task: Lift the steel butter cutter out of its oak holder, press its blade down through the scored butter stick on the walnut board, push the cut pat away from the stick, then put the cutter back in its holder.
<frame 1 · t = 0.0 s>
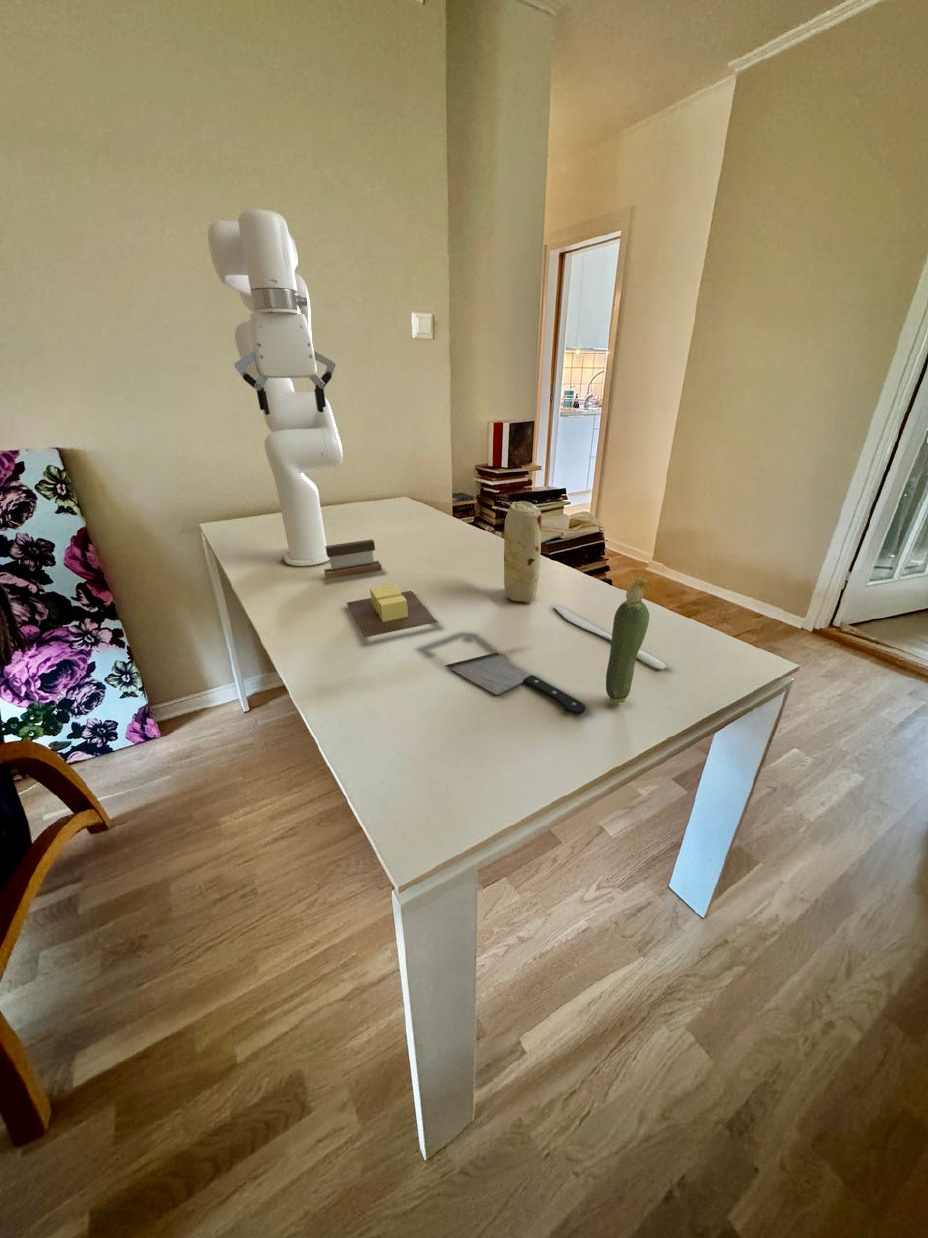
hand: (294, 412, 90), 37 cm above the table, tool pointing down, fingers open, 9 cm apart
butter pat: (393, 616, 92), point 1 cm above the table, touching board
butter knife: (601, 636, 87), on the table
holder: (354, 576, 115), on the table
butter stick: (386, 606, 96), point 1 cm above the table, touching board
board: (390, 618, 95), on the table
vegetable: (617, 702, 70), on the table
cutter: (354, 576, 115), resting in holder
food model: (519, 597, 103), on the table
cleaver: (498, 676, 76), on the table
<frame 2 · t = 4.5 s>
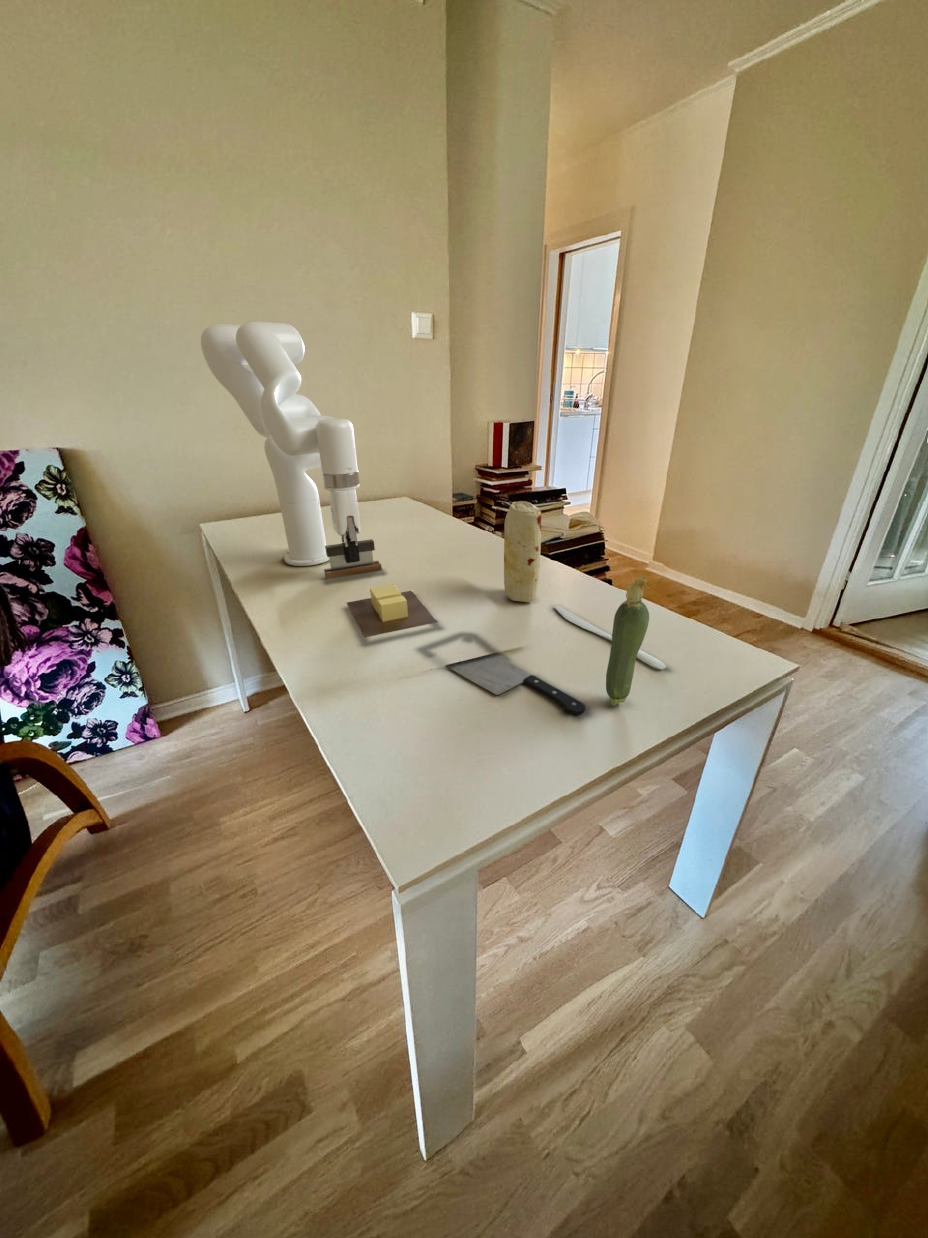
hand: (351, 559, 113), 4 cm above the table, tool pointing down, fingers closed on cutter, 1 cm apart
cutter: (354, 576, 115), resting in holder, touching gripper
everything else where it was.
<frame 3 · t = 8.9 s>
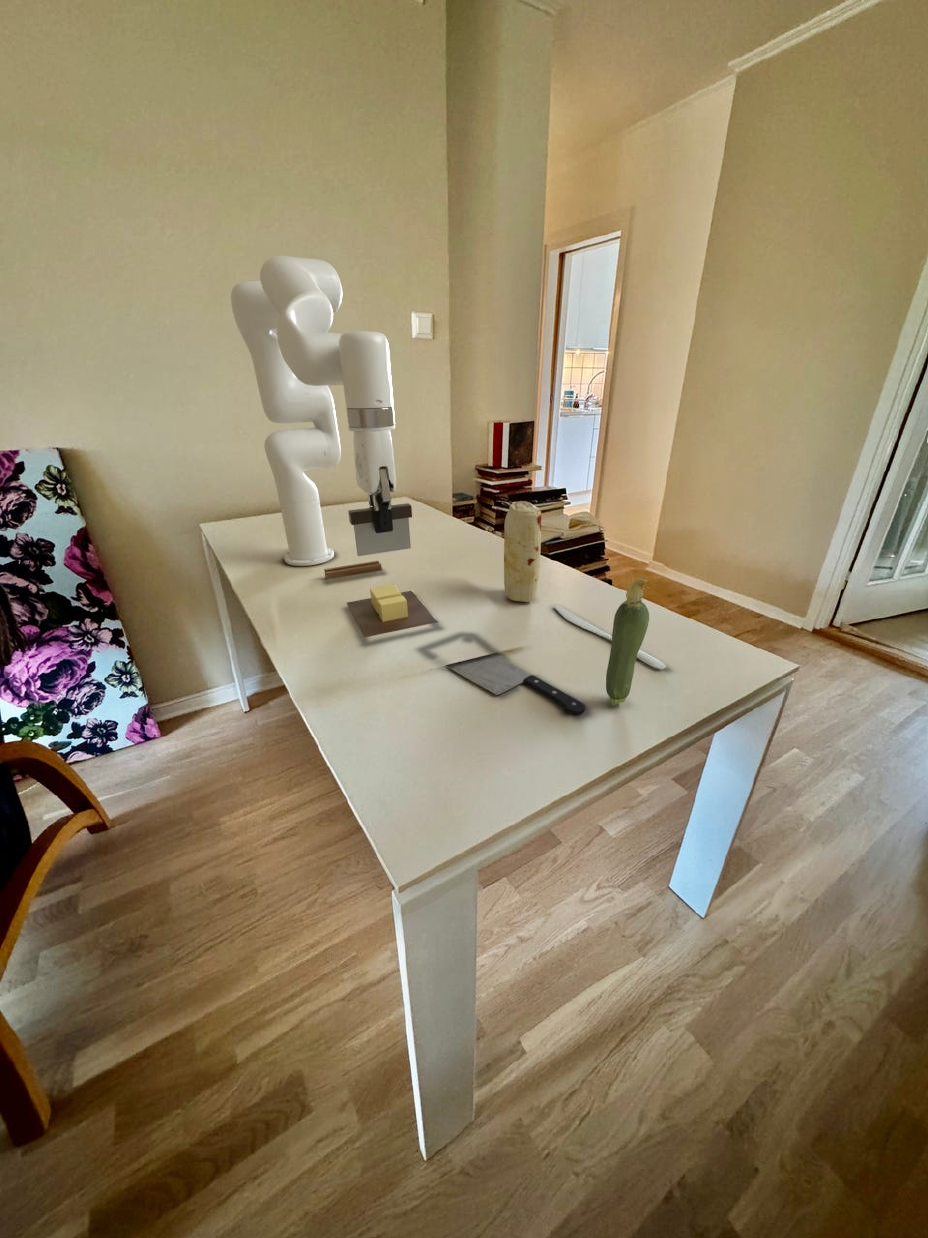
hand: (382, 529, 86), 18 cm above the table, tool pointing down, fingers closed on cutter
cutter: (384, 552, 88), point 14 cm above the table, touching gripper
everything else where it was.
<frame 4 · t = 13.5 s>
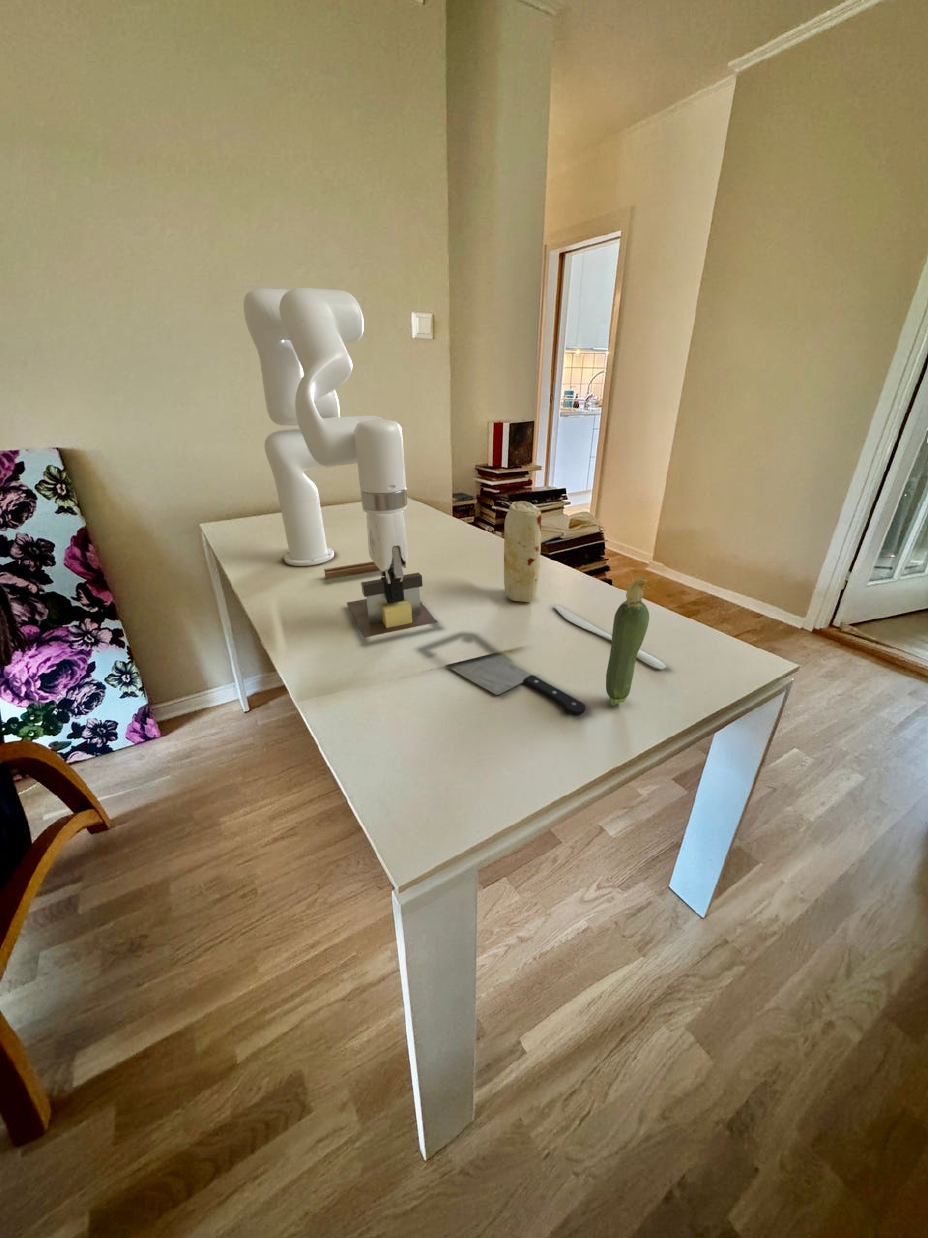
hand: (393, 598, 89), 6 cm above the table, tool pointing down, fingers closed on cutter, 2 cm apart
butter pat: (397, 622, 90), point 2 cm above the table, touching board, cutter
cutter: (395, 618, 91), point 2 cm above the table, touching butter pat, gripper
everything else where it was.
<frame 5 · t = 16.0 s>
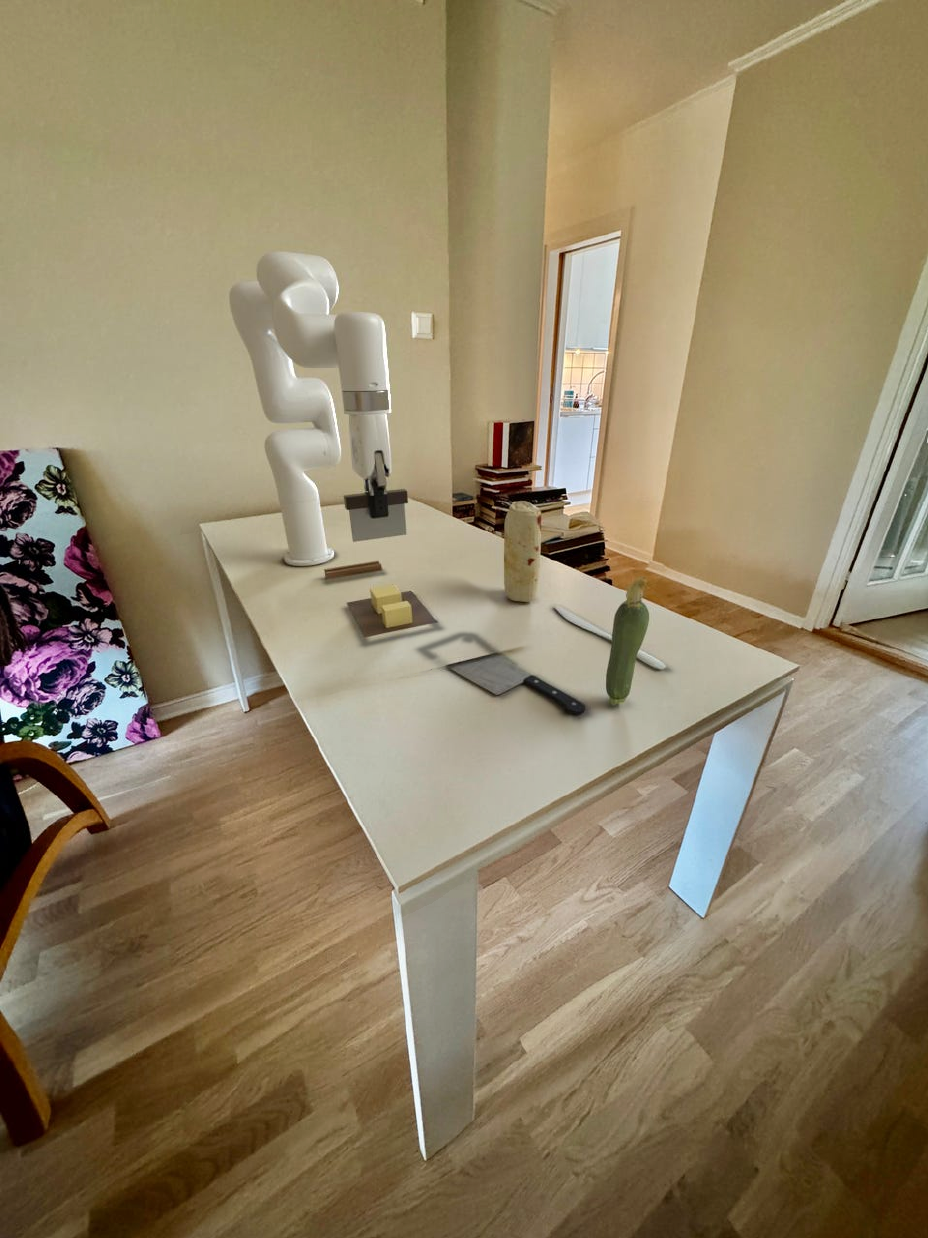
hand: (377, 514, 86), 21 cm above the table, tool pointing down, fingers closed on cutter
butter pat: (397, 622, 90), point 1 cm above the table, touching board
cutter: (380, 537, 88), point 16 cm above the table, touching gripper
everything else where it was.
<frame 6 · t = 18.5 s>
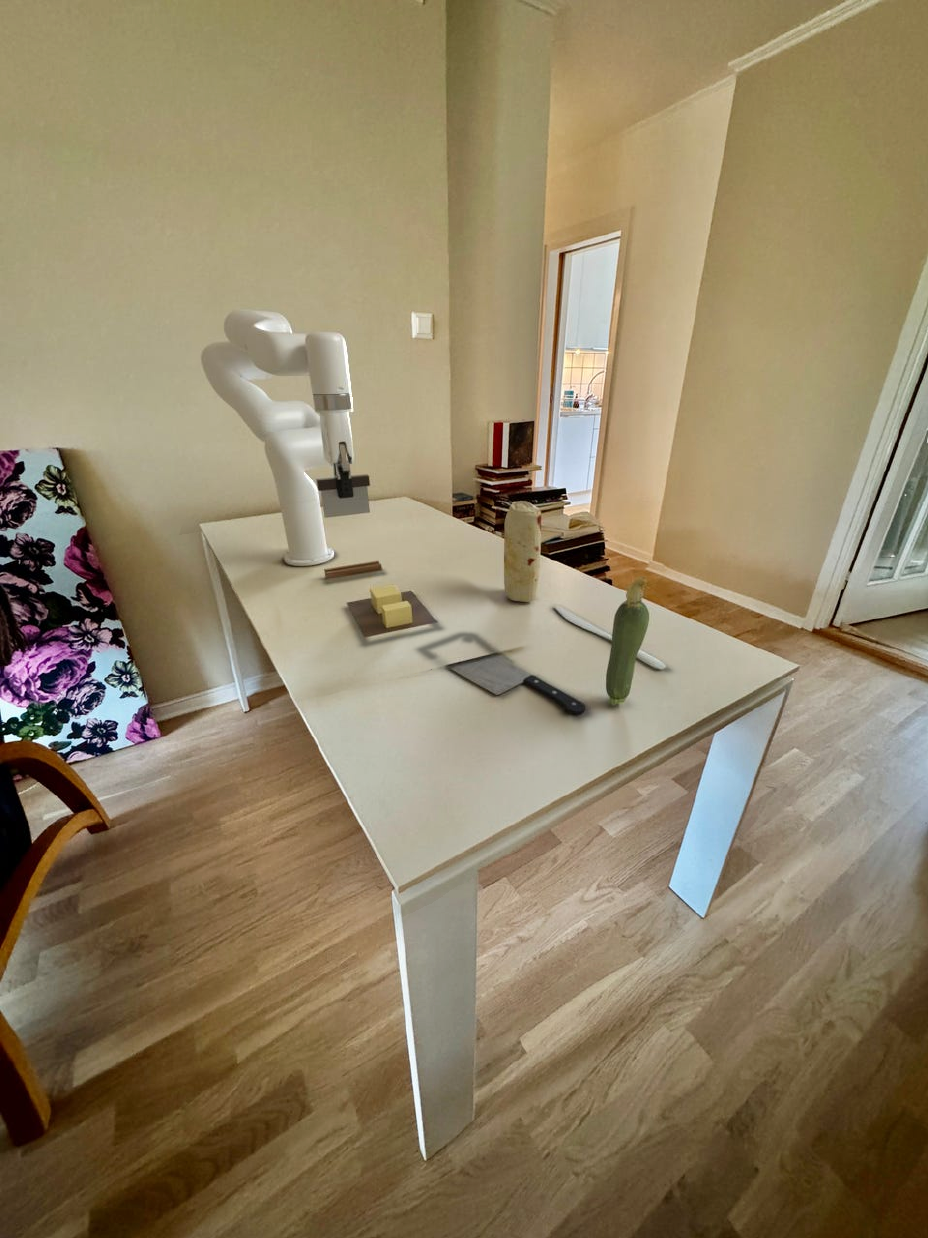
hand: (344, 495, 104), 20 cm above the table, tool pointing down, fingers closed on cutter
cutter: (347, 515, 106), point 15 cm above the table, touching gripper
everything else where it was.
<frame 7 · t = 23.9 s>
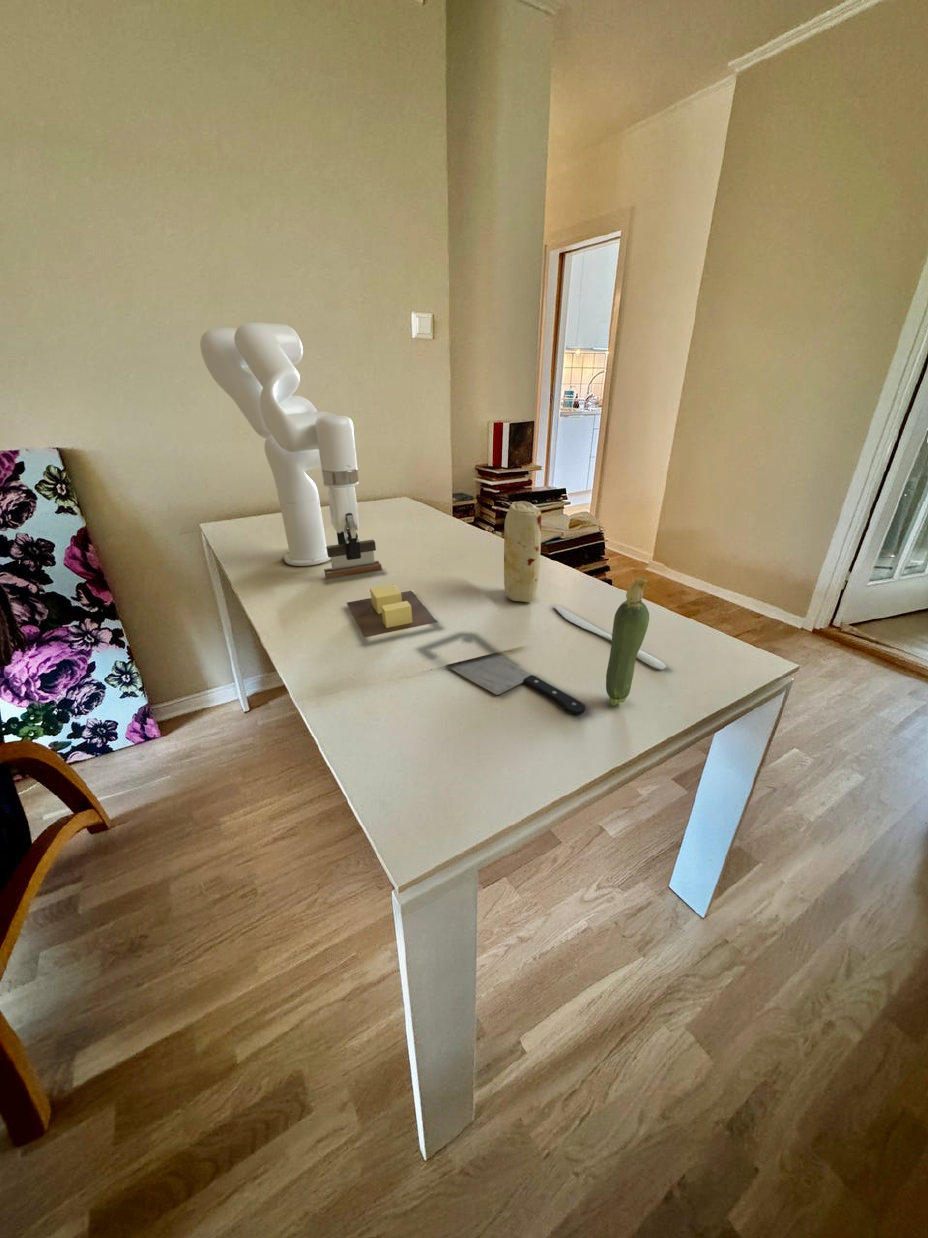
hand: (349, 551, 112), 6 cm above the table, tool pointing down, fingers open, 9 cm apart
cutter: (355, 576, 114), resting in holder
everything else where it was.
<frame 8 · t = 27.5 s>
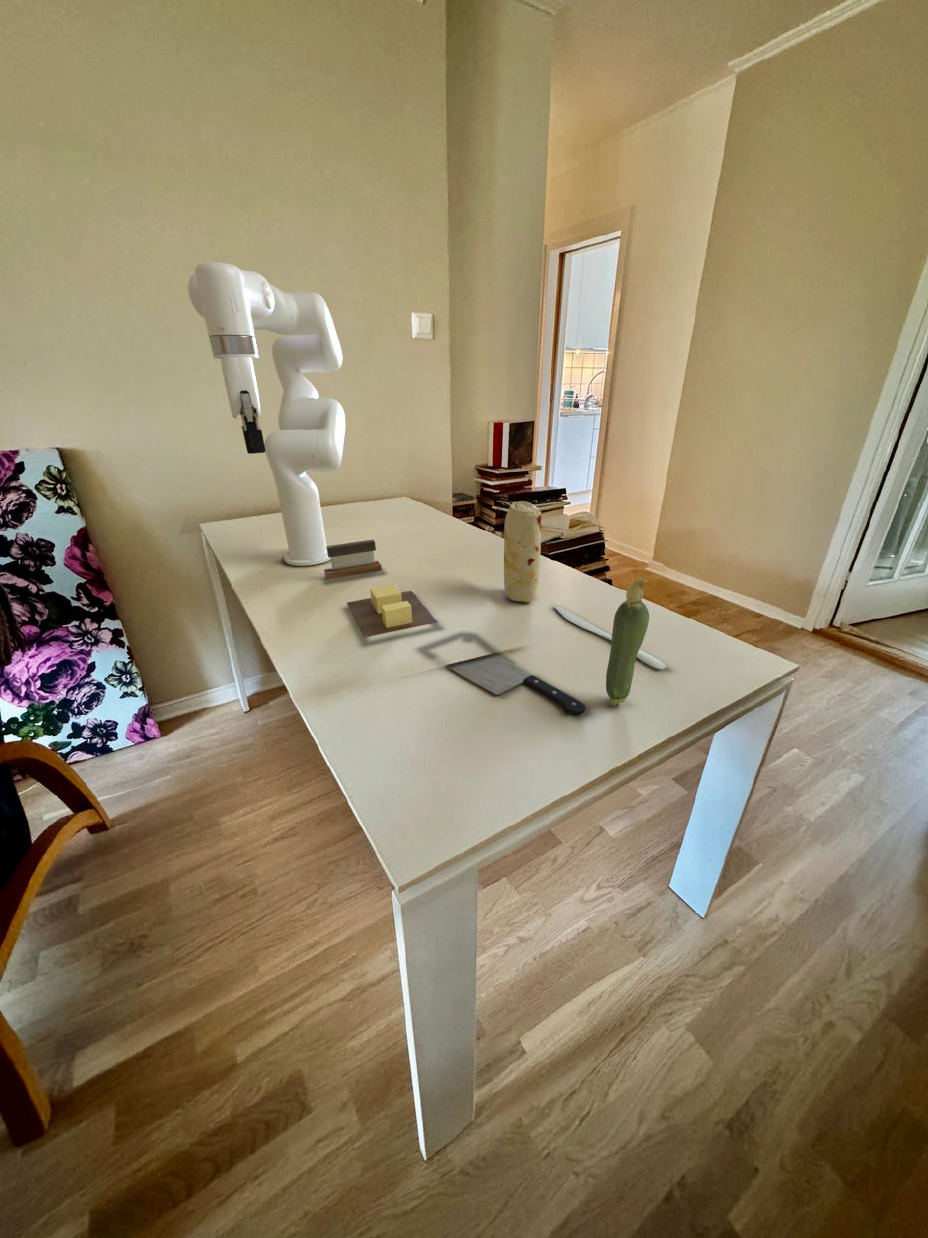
hand: (255, 449, 93), 30 cm above the table, tool pointing down, fingers open, 9 cm apart
nothing on the table moved.
at the end: butter pat 1.1 cm from the target spot on the table beside the butter stick, resting on board; butter stick moved 0.0 cm from its start; cutter 0.3 cm off-centre on the holder, point 0.0 cm above the holder's base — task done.
